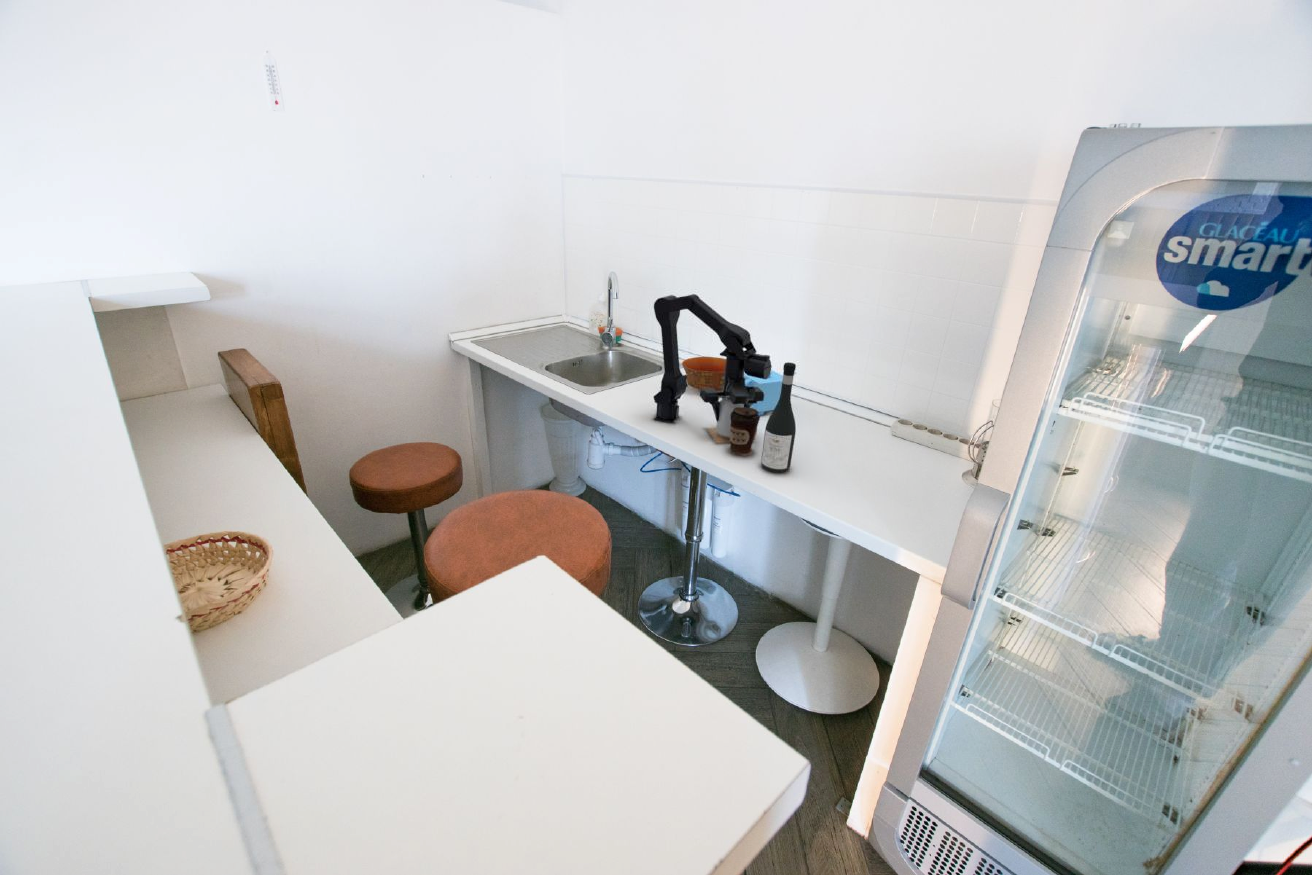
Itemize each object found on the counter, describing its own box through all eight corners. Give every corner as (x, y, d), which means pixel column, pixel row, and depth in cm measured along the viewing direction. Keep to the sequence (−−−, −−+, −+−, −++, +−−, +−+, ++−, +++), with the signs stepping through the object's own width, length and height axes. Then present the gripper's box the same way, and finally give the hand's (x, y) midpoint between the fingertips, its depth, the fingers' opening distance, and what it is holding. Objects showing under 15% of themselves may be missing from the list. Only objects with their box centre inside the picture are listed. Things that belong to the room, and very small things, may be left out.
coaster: (716, 443, 173) (716, 442, 173) (706, 429, 183) (706, 428, 183) (750, 441, 176) (750, 441, 176) (739, 427, 185) (739, 427, 185)
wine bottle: (785, 476, 156) (801, 370, 143) (757, 469, 159) (770, 365, 147) (792, 465, 162) (808, 362, 150) (765, 458, 165) (779, 357, 153)
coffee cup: (745, 460, 163) (750, 418, 158) (720, 452, 168) (724, 410, 163) (760, 451, 170) (765, 410, 165) (735, 443, 174) (740, 402, 169)
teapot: (748, 417, 193) (753, 378, 188) (731, 406, 203) (735, 368, 197) (801, 410, 202) (807, 372, 197) (782, 399, 211) (787, 363, 206)
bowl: (672, 381, 225) (674, 356, 221) (723, 378, 231) (725, 354, 227) (691, 400, 207) (693, 373, 203) (745, 396, 213) (748, 370, 209)
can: (737, 430, 183) (742, 394, 178) (741, 439, 176) (746, 403, 171) (714, 428, 183) (718, 393, 178) (717, 438, 176) (721, 401, 171)
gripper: (712, 381, 162) (707, 432, 168) (774, 380, 166) (767, 430, 172) (701, 369, 172) (697, 417, 178) (760, 368, 176) (754, 415, 182)
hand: (729, 420), depth 177 cm, fingers closed on can, 7 cm apart
